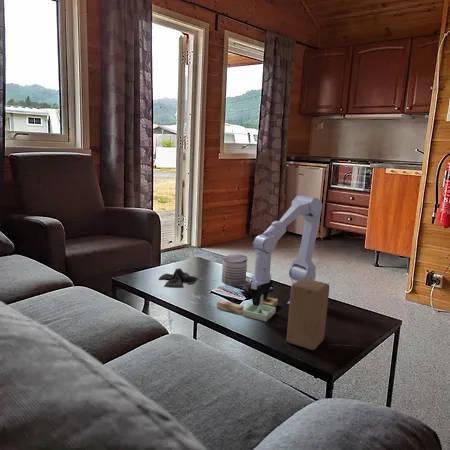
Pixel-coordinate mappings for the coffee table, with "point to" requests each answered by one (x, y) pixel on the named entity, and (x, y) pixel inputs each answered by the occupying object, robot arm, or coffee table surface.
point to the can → (234, 270)
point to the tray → (266, 313)
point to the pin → (260, 306)
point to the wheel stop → (230, 307)
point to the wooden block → (307, 313)
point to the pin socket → (270, 302)
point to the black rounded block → (246, 293)
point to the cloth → (178, 279)
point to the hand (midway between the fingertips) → (260, 302)
